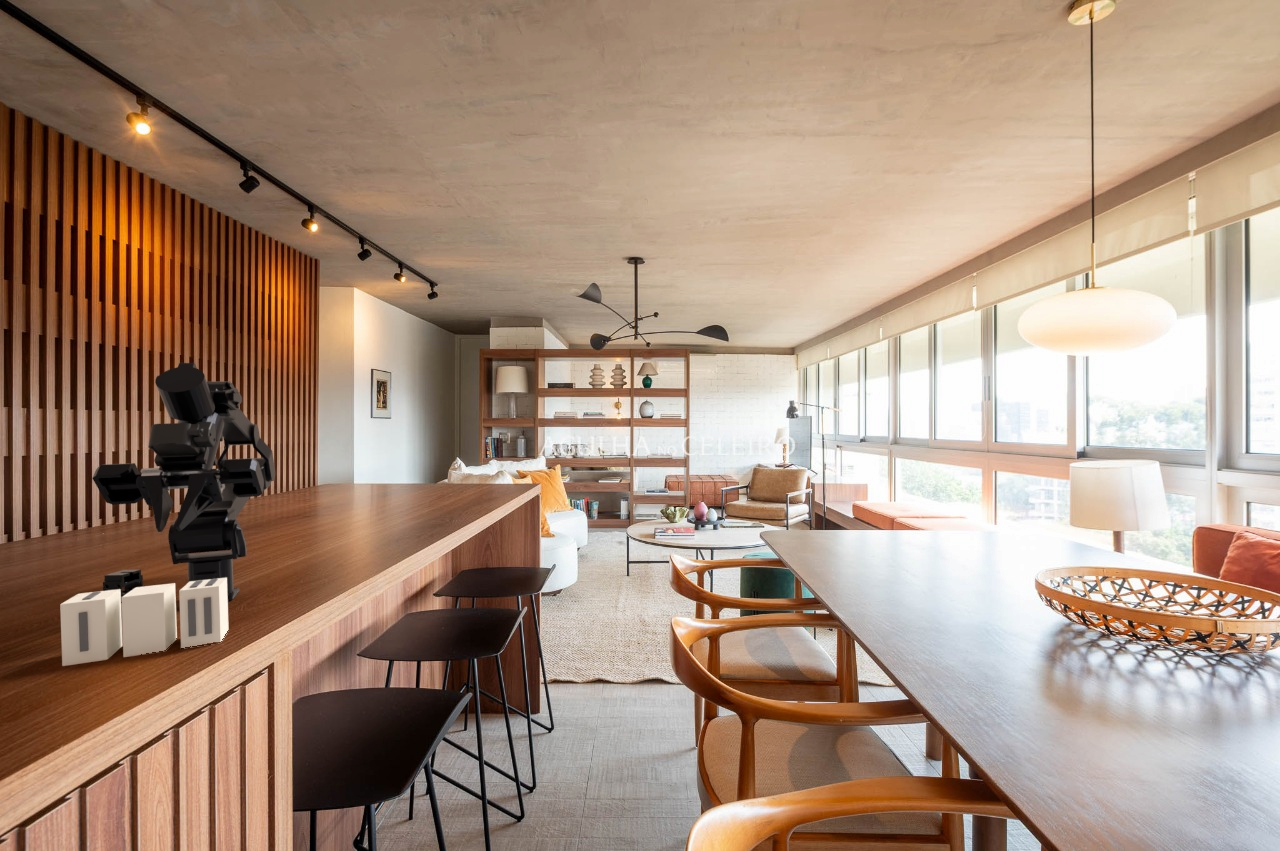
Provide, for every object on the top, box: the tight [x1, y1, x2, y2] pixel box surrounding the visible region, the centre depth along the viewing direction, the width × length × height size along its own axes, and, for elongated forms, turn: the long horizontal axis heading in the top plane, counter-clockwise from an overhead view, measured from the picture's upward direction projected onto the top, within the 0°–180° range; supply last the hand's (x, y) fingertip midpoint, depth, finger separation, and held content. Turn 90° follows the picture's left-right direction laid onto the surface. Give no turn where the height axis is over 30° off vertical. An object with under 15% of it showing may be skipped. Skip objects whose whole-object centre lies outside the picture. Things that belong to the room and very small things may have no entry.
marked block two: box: [178, 578, 230, 649], centre depth 77 cm, size 5×4×7 cm
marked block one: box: [59, 588, 123, 667], centre depth 73 cm, size 5×4×7 cm
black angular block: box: [102, 569, 144, 602], centre depth 99 cm, size 12×7×5 cm, turn 178°
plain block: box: [121, 582, 178, 658], centre depth 75 cm, size 5×4×7 cm
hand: (168, 529), depth 81 cm, fingers closed
